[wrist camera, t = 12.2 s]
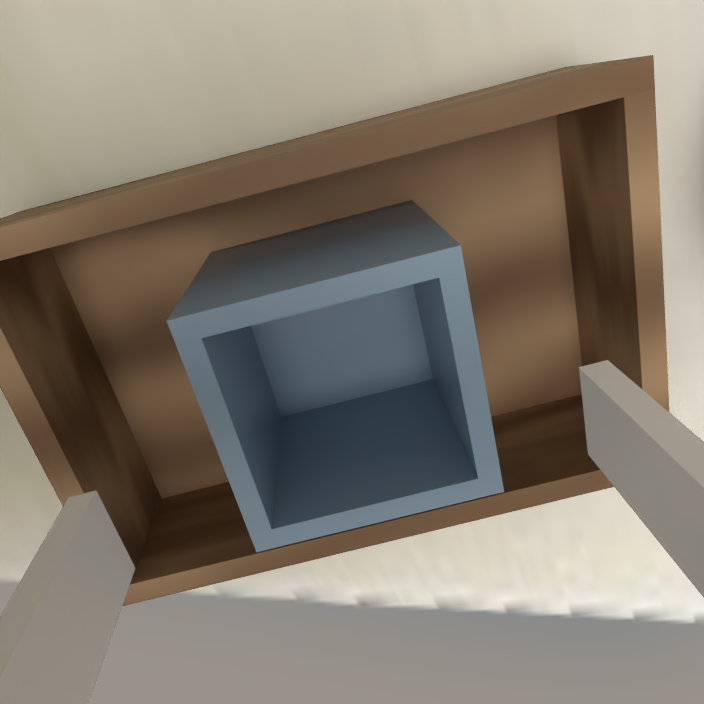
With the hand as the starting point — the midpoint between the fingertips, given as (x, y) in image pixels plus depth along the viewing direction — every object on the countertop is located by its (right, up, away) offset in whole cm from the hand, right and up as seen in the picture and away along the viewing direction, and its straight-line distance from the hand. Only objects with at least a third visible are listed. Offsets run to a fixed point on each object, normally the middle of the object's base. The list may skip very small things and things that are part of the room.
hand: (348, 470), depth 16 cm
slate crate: (-1, +5, +12) cm, 13 cm away
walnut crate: (-1, +5, +13) cm, 14 cm away
